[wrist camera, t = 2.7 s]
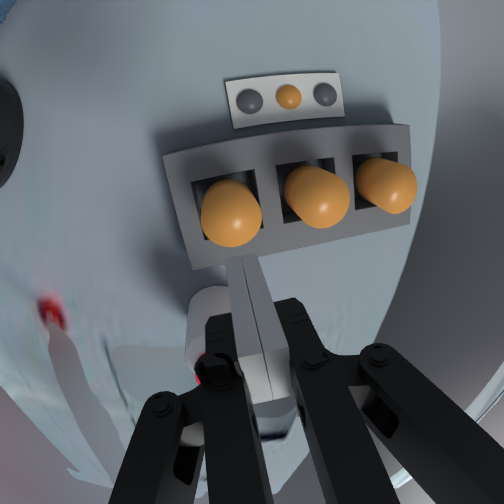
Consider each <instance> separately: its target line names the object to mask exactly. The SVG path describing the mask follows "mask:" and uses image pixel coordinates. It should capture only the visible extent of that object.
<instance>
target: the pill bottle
mask: <svg viewBox="0 0 504 504" xmlns="http://www.w3.org/2000/svg"><path fill="white" fill-rule="evenodd" d="M230 312H231V305H230V297H229V289H228V287H227V286H210V287H207V288H204V289H202V290H200V291H198V292H197V293H196V294H195V295H194V296H193V297H192V299H191V300H190V302H189V306H188V314H187V327H186V342H185V360H186V363H187V365H188V367H189V368H190V369H191V370H192V371H193V372H194V373H195V371H194V366H195V363H196V361H197V360H198V359H199V357H201V356H202V355H204V354H205V324H206V322H207V321H208V319H209V317H210V316H215V315H220V314H225V313H230ZM195 377H196V381H197V382H198V384H199V385H200V381H199V379H198V377H197V375H196V373H195Z"/></svg>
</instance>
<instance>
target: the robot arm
mask: <svg viewBox="0 0 504 504" xmlns="http://www.w3.org/2000/svg"><path fill="white" fill-rule="evenodd" d="M16 1H17V0H0V23H3V22H4V20H5V17H6V15H7V13H8V12H9V10H10V9H11V8H12V6H13V5H14V3H15V2H16ZM22 138H23V111H22V105H21V101H20V98H19V96H18V94H17V92H16V90H15V89H14V88H13V86H12V85H10V84H9V83H7V82H5V81H1V80H0V188H1V187H2V186H3V185H4V184H5V183H6V182H7V180H8V179H9V177H10V176H11V174H12V172H13V170H14V168H15V166H16V163H17V160H18V157H19V154H20V150H21V145H22ZM241 260H242V263H241ZM225 265H226V273H227V281H228V289H229V297H230V305H231V312H230V313H225V314H220V315H215V316H210V317H209V319H208V321H207V322H206V324H205V354H204V355H202V356H201V357H199V359H198V360H197V361H196V363H195V366H194V371H195V373H196V375H197V377H198V379H199V381H200V385H199V386H197V387H196V388H195V389H193V390H191V391H189V392H186V393H184V394H181V395H179V396H177V395H176V394H175V393H172V392H169V391H164V392H158V393H156V394H154V395H152V396H151V397H150V398H148V399H147V401H146V402H145V404H144V406H143V409H142V411H141V414H140V416H139V419H138V422H137V424H136V427H135V429H134V432H133V435H132V437H131V440H130V443H129V445H128V448H127V451H126V454H125V457H124V459H123V462H122V465H121V468H120V470H119V473H118V476H117V479H116V482H115V485H114V488H113V491H112V494H111V497H110V500H109V503H108V504H193V503H194V498H195V494H196V489H197V484H198V479H199V475H200V470H201V465H202V461H203V456H204V451H205V461H206V473H207V485H208V494H209V504H274V501H273V497H272V492H271V487H270V483H269V478H268V474H267V469H266V464H265V460H264V455H263V450H262V445H261V440H260V435H259V430H258V425H257V420H256V416H255V413H254V410H253V404H255V403H260V402H265V401H269V400H273V398H274V399H279V398H283V397H287V396H291V395H294V394H295V397H296V402H297V413H298V417H299V416H300V419H301V422H302V426H303V429H304V432H305V435H306V439H307V442H308V445H309V449H310V452H311V455H312V458H313V462H314V465H315V468H316V472H317V475H318V478H319V482H320V485H321V488H322V491H323V495H324V497H325V501H326V504H400V502H399V499H398V497H397V495H396V492H395V490H394V488H393V485H392V483H391V480H390V478H389V476H388V474H387V471H386V469H385V467H384V464H383V462H382V460H381V457H380V455H379V453H378V451H377V448H376V446H375V444H374V442H373V439H372V437H371V435H370V433H369V431H368V428H367V426H368V427H369V428H370V429H371V430H372V431H373V433H374V434H375V435H376V436H377V437H378V438H379V440H380V441H381V442H382V443H383V444H384V445H385V446H386V448H387V449H388V450H389V451H390V452H391V453H392V455H393V456H394V457H395V458H396V459H397V460H398V461H399V463H400V464H401V465H402V466H403V467H404V468H405V469H406V471H407V472H408V473H409V474H410V475H411V476H412V477H413V478H414V479H415V481H416V482H417V483H418V484H419V485H420V486H421V487H422V489H423V490H424V491H425V492H426V493H427V494H428V495H429V496H430V497H431V499H432V500H433V501H434V502H435V503H436V504H504V448H503V447H501V446H500V445H499V444H498V443H497V442H496V441H495V440H494V439H493V438H492V437H491V436H490V435H489V434H488V433H487V432H486V431H484V429H482V428H481V427H480V426H479V425H478V424H477V423H476V422H475V421H474V420H473V419H472V418H471V417H470V416H468V415H467V414H466V413H465V412H464V411H463V410H462V409H461V408H460V407H459V406H458V405H457V404H455V403H454V402H453V401H452V400H451V399H450V398H449V397H448V396H447V395H446V394H444V393H443V392H442V391H441V390H440V389H439V388H438V387H437V386H435V385H434V384H433V383H432V382H431V381H430V380H429V379H428V378H427V377H425V376H424V375H423V374H422V373H421V372H420V371H419V370H418V369H417V368H415V367H414V366H413V365H412V364H411V363H410V362H409V361H407V360H406V359H405V358H404V357H403V356H402V355H401V354H400V353H398V352H397V351H396V350H395V349H394V348H392V347H391V346H389V345H387V344H382V343H374V344H371V345H368V346H366V347H365V348H364V349H363V350H361V353H360V355H337V354H333V353H331V352H330V351H329V350H327V349H326V348H325V347H324V346H323V344H322V342H321V340H320V338H319V336H318V334H317V332H316V330H315V328H314V326H313V324H312V322H311V320H310V318H309V316H308V314H307V311H306V309H305V307H304V305H303V303H301V302H300V301H298V300H297V299H296V298H290V299H285V300H281V301H277V302H273V300H272V297H271V295H270V292H269V289H268V286H267V283H266V280H265V277H264V275H263V272H262V269H261V266H260V263H259V260H258V257H257V255H256V252H254V253H249V254H245V255H241V258H240V256H235V257H230V258H226V259H225ZM242 265H243V267H242ZM243 270H244V271H243ZM244 275H245V276H244ZM245 279H246V280H245ZM267 374H268V375H267ZM268 378H269V380H268ZM269 382H270V384H269ZM270 386H271V389H270ZM271 391H272V394H271ZM272 395H273V398H272ZM365 423H366V424H367V426H366V424H365Z"/></svg>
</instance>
